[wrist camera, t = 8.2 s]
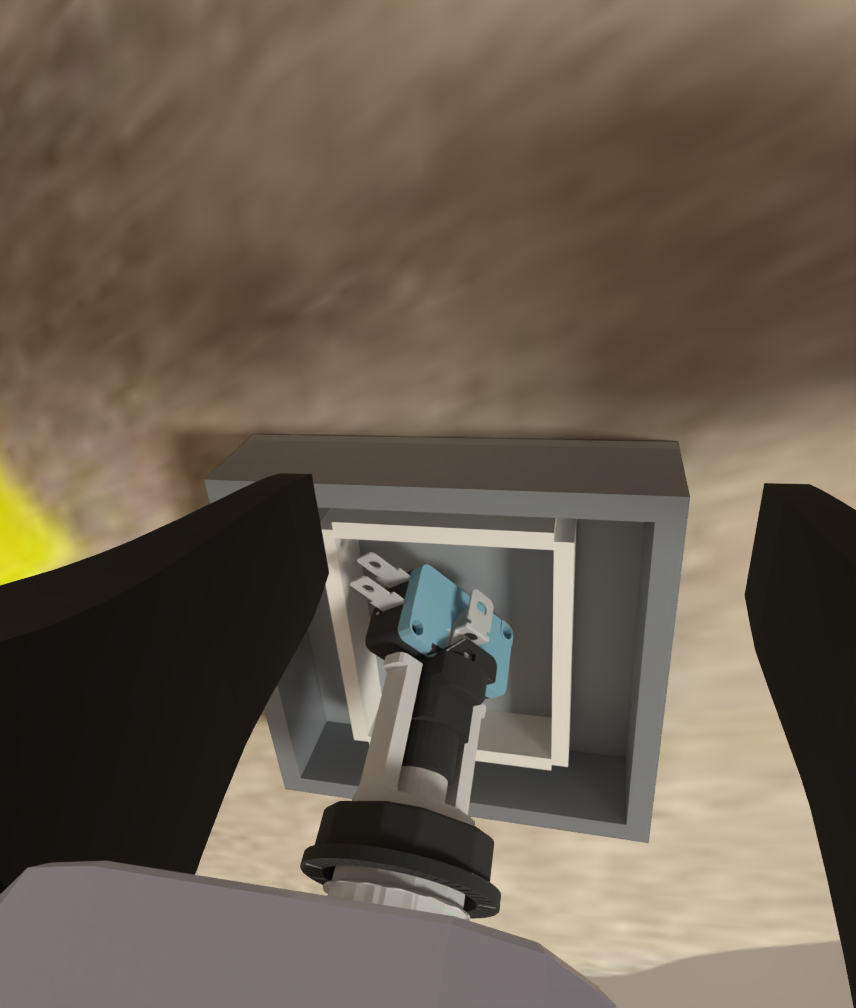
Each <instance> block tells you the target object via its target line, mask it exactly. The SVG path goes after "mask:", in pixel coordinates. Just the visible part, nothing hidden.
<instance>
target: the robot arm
mask: <svg viewBox="0 0 856 1008" xmlns="http://www.w3.org/2000/svg"><path fill="white" fill-rule="evenodd" d="M328 575H329V568H328V563H327V557H326V551H325V546H324V540H323V534H322V529H321V523H320V517H319V512H318V506H317V500H316V495H315V489H314V483H313V478H312V474H291V473H278V474H275V475H272V476H269V477H266V478H264V479H261V480H259V481H257V482H254V483H252V484H250V485H248V486H246V487H243V488H241V489H239V490H237V491H235V492H233V493H231V494H229V495H227V496H225V497H223V498H221V499H219V500H217V501H215V502H213V503H211V504H209V505H207V506H205V507H203V508H201V509H199V510H197V511H195V512H192V513H190V514H188V515H186V516H184V517H182V518H180V519H178V520H176V521H174V522H171V523H169V524H167V525H165V526H163V527H160V528H158V529H156V530H154V531H152V532H149V533H147V534H145V535H143V536H141V537H138V538H136V539H134V540H132V541H129V542H127V543H125V544H122V545H120V546H117V547H115V548H112V549H110V550H107V551H105V552H102V553H100V554H97V555H94V556H92V557H89V558H86V559H83V560H80V561H78V562H75V563H72V564H69V565H67V566H64V567H61V568H58V569H55V570H52V571H48V572H45V573H41V574H38V575H35V576H31V577H28V578H24V579H21V580H17V581H14V582H11V583H7V584H4V585H0V1008H616V1005H615V1004H614V1003H613V1002H612V1000H610V998H608V996H607V995H606V994H605V993H604V992H603V991H602V990H601V989H600V988H599V987H598V986H597V985H596V984H594V983H592V982H591V981H590V980H589V979H587V978H586V977H585V976H583V975H582V974H580V973H579V972H578V971H576V970H575V969H574V968H572V967H571V966H569V965H568V964H567V963H565V962H564V961H563V960H561V959H560V958H558V957H557V956H556V955H554V954H553V953H552V952H550V951H549V950H547V949H546V948H545V947H543V946H542V945H541V944H539V943H538V942H535V941H531V940H528V939H525V938H522V937H519V936H516V935H512V934H509V933H506V932H503V931H500V930H496V929H493V928H490V927H487V926H484V925H481V924H477V923H474V922H471V921H468V920H465V919H462V918H458V917H455V916H449V915H443V914H437V913H430V912H424V911H418V910H411V909H405V908H399V907H393V906H386V905H380V904H374V903H368V902H361V901H355V900H349V899H343V898H336V897H330V896H324V895H318V894H311V893H305V892H299V891H293V890H286V889H280V888H274V887H267V886H261V885H255V884H249V883H242V882H236V881H230V880H224V879H217V878H211V877H205V876H199V875H195V874H196V871H197V868H198V865H199V862H200V859H201V856H202V854H203V851H204V849H205V846H206V843H207V841H208V838H209V835H210V833H211V830H212V827H213V825H214V822H215V819H216V817H217V814H218V812H219V809H220V806H221V804H222V801H223V798H224V796H225V793H226V791H227V789H228V786H229V784H230V781H231V779H232V777H233V774H234V772H235V769H236V767H237V764H238V762H239V760H240V757H241V755H242V752H243V750H244V747H245V745H246V743H247V741H248V739H249V737H250V735H251V733H252V731H253V729H254V727H255V725H256V723H257V721H258V719H259V717H260V715H261V714H262V712H263V710H264V708H265V706H266V704H267V703H268V701H269V699H270V697H271V695H272V694H273V692H274V690H275V688H276V686H277V685H278V683H279V681H280V679H281V677H282V675H283V674H284V672H285V670H286V668H287V666H288V665H289V663H290V661H291V659H292V657H293V656H294V654H295V652H296V650H297V648H298V646H299V644H300V643H301V641H302V639H303V637H304V635H305V633H306V631H307V629H308V628H309V626H310V624H311V622H312V620H313V617H314V615H315V612H316V609H317V607H318V604H319V602H320V599H321V596H322V593H323V590H324V587H325V584H326V581H327V578H328ZM745 600H746V605H747V611H748V616H749V622H750V627H751V632H752V637H753V641H754V646H755V651H756V654H757V657H758V660H759V662H760V665H761V668H762V671H763V674H764V677H765V680H766V682H767V685H768V688H769V691H770V694H771V697H772V699H773V702H774V705H775V708H776V710H777V713H778V716H779V719H780V721H781V724H782V727H783V730H784V732H785V735H786V738H787V741H788V743H789V746H790V749H791V752H792V754H793V757H794V760H795V763H796V765H797V768H798V771H799V774H800V777H801V779H802V783H803V786H804V789H805V792H806V796H807V799H808V802H809V805H810V809H811V813H812V817H813V821H814V825H815V829H816V834H817V838H818V842H819V846H820V850H821V855H822V859H823V863H824V867H825V871H826V876H827V880H828V885H829V889H830V894H831V899H832V903H833V908H834V913H835V917H836V922H837V926H838V931H839V936H840V940H841V945H842V950H843V954H844V959H845V964H846V969H847V975H848V980H849V985H850V990H851V996H852V1000H853V1006H854V1008H856V510H855V509H853V508H851V507H850V506H848V505H846V504H845V503H843V502H842V501H840V500H838V499H836V498H835V497H833V496H831V495H830V494H828V493H826V492H824V491H822V490H820V489H818V488H816V487H814V486H812V485H810V484H772V483H764V488H763V494H762V500H761V505H760V511H759V517H758V522H757V528H756V534H755V539H754V545H753V551H752V556H751V562H750V568H749V573H748V579H747V585H746V590H745Z"/></svg>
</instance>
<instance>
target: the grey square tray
mask: <svg viewBox="0 0 856 1008" xmlns="http://www.w3.org/2000/svg"><path fill="white" fill-rule="evenodd" d="M278 473H291V474H312V478H313V483H314V489H315V495H316V500H317V506H318V512H319V517H320V522H321V521H322V519H323V518H324V516H325V515H326V513H327V512H328V511H329V509H330V508H342V509H365V510H388V511H410V512H433V513H455V514H478V515H501V516H523V517H546V518H568V519H577V529H576V562H575V595H574V628H573V662H572V695H571V727H570V743H569V760H568V767H564V766H556V765H552V767H551V770H543V769H535V768H527V767H520V766H512V765H504V764H497V763H489V762H481V761H475V766H474V773H473V781H472V788H471V795H470V802H469V809H468V816H470V817H477V818H483V819H490V820H497V821H504V822H510V823H517V824H524V825H531V826H537V827H544V828H551V829H557V830H564V831H571V832H578V833H584V834H591V835H598V836H605V837H611V838H618V839H625V840H631V841H638V842H645V843H649V835H650V827H651V818H652V810H653V802H654V793H655V785H656V777H657V768H658V760H659V752H660V743H661V735H662V727H663V718H664V710H665V702H666V693H667V685H668V677H669V668H670V660H671V651H672V643H673V635H674V626H675V618H676V610H677V601H678V593H679V585H680V576H681V568H682V560H683V551H684V543H685V535H686V526H687V518H688V510H689V501H690V495H689V490H688V485H687V481H686V476H685V472H684V467H683V462H682V458H681V453H680V448H679V444H678V442H658V441H602V440H547V439H491V438H435V437H380V436H324V435H268V434H254V435H252V436H251V437H250V438H249V439H248V440H247V441H246V442H245V443H244V444H243V445H241V446H240V447H239V448H238V449H237V450H236V451H235V452H234V453H233V454H231V455H230V456H229V457H228V458H227V459H226V460H225V461H224V462H223V463H222V464H220V465H219V466H218V467H217V468H216V469H215V470H214V471H213V472H212V473H210V474H209V475H208V476H207V477H206V478H205V479H204V483H205V487H206V491H207V494H208V498H209V502H210V504H211V503H213V502H215V501H217V500H219V499H221V498H223V497H225V496H227V495H229V494H231V493H233V492H235V491H237V490H239V489H241V488H243V487H246V486H248V485H250V484H252V483H254V482H257V481H259V480H261V479H264V478H266V477H269V476H272V475H275V474H278ZM358 540H359V547H360V554H361V556H363V555H365V554H367V553H369V552H373V553H375V554H377V555H378V556H379V557H381V558H382V559H383V560H385V561H386V562H387V563H389V564H390V565H391V566H393V567H394V568H396V569H398V568H401V569H402V570H403V571H405V572H408V571H411V570H413V569H416V568H418V567H421V566H423V565H426V564H428V565H430V566H432V567H433V568H434V569H436V570H437V571H438V572H439V573H441V574H442V575H443V576H445V577H446V578H447V579H449V580H450V581H451V582H453V583H454V584H455V585H456V586H458V587H459V588H460V589H462V590H463V591H464V592H466V593H467V594H468V595H470V594H471V591H473V590H475V589H477V590H479V591H480V592H481V593H482V594H484V595H485V596H486V597H488V598H489V599H490V600H491V601H492V604H493V606H494V609H493V614H494V615H496V616H497V617H498V618H500V619H501V620H503V621H505V622H506V623H507V624H508V625H509V626H510V627H511V629H512V631H513V643H512V646H511V654H510V662H509V671H508V679H507V688H506V692H505V694H504V695H502V696H497V697H493V698H489V699H485V700H484V702H483V704H484V705H485V706H486V710H488V711H497V712H506V713H515V714H524V715H533V716H542V717H551V718H552V662H553V577H554V550H542V549H524V548H506V547H487V546H469V545H451V544H433V543H415V542H397V541H378V540H360V539H358ZM369 564H370V565H372V566H374V567H380V566H381V565H380V564H379V563H378V562H375V561H371V562H369ZM362 567H363V574H364V576H367V577H369V578H370V579H371V580H373V581H374V582H376V583H377V584H378V585H380V586H381V587H383V588H384V589H385V588H386V586H385V585H384V584H383V583H381V582H380V581H378V580H377V577H378V576H376V575H375V574H373V573H372V572H371V571H369V570H368V569H366V568H365V567H364V566H362ZM365 587H366V590H369V591H372V590H374V588H373V587H371V586H369V585H365ZM367 600H368V607H369V614H370V620H371V616H372V612H373V610H374V608H375V607H376V606H374V605H373V604H371V603H370V601H371V600H370V599H369V598H367ZM479 603H480V604H481V605H483V604H482V603H481V602H479ZM376 661H377V667H378V674H379V681H380V687H381V694H382V691H383V687H384V683H385V679H386V675H387V671H386V670H385V669H384V668H383V666H384V662H385V661H384V660H383V659H381V658H380V657H378V656H377V655H376ZM264 710H265V714H266V718H267V722H268V725H269V729H270V733H271V737H272V740H273V744H274V748H275V752H276V756H277V759H278V763H279V767H280V771H281V775H282V778H283V782H284V786H285V789H288V790H295V791H302V792H309V793H315V794H322V795H329V796H335V797H342V798H349V799H353V795H354V794H355V793H356V791H357V789H358V787H359V785H360V781H361V778H362V774H363V769H364V765H365V761H366V757H367V753H368V749H369V742H367V741H359V740H354V737H353V731H352V726H351V720H350V715H349V710H348V704H347V699H346V693H345V688H344V682H343V677H342V671H341V666H340V660H339V655H338V650H337V644H336V639H335V633H334V628H333V622H332V617H331V611H330V606H329V600H328V595H327V590H326V584H325V587H324V590H323V593H322V596H321V599H320V602H319V604H318V607H317V609H316V612H315V615H314V617H313V620H312V622H311V624H310V626H309V628H308V629H307V631H306V633H305V635H304V637H303V639H302V641H301V643H300V644H299V646H298V648H297V650H296V652H295V654H294V656H293V657H292V659H291V661H290V663H289V665H288V666H287V668H286V670H285V672H284V674H283V675H282V677H281V679H280V681H279V683H278V685H277V686H276V688H275V690H274V692H273V694H272V695H271V697H270V699H269V701H268V703H267V704H266V706H265V708H264Z"/></svg>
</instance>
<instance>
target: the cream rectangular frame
mask: <svg viewBox="0 0 856 1008" xmlns="http://www.w3.org/2000/svg"><path fill="white" fill-rule="evenodd" d="M320 523H321V529H322V534H323V540H324V546H325V551H326V557H327V563H328V568H329V575H328V578H327V581H326V590H327V595H328V600H329V606H330V611H331V617H332V622H333V628H334V633H335V639H336V644H337V650H338V655H339V660H340V666H341V671H342V677H343V682H344V688H345V693H346V699H347V704H348V710H349V715H350V720H351V726H352V731H353V737H354V740H359V741H367V742H369V745H370V741H371V737H372V732H373V728H374V724H375V720H376V716H377V712H378V708H379V704H380V699H381V695H382V694H381V687H380V681H379V674H378V667H377V661H376V655H375V654H373V653H372V652H370V651H369V650H368V648H367V647H366V644H365V638H366V634H367V631H368V627H369V623H370V614H369V607H368V600H367V597H366V596H365V595H363V594H362V593H360V592H359V591H357V590H356V589H354V588H353V587H351V586H350V581H353V580H355V579H357V578H359V577H362V576H364V574H363V567H362V565H361V564H359V563H358V562H357V558H359V557H361V554H360V547H359V540H358V539H360V540H378V541H397V542H415V543H433V544H451V545H469V546H487V547H506V548H524V549H542V550H554V577H553V662H552V718H551V717H542V716H533V715H524V714H515V713H506V712H497V711H488V710H486V713H485V718H483V719H481V723H480V730H479V738H478V745H477V752H476V759H475V761H481V762H489V763H497V764H504V765H512V766H520V767H527V768H535V769H543V770H551V767H552V765H556V766H564V767H568V760H569V743H570V727H571V695H572V662H573V628H574V595H575V562H576V529H577V519H568V518H546V517H523V516H501V515H478V514H455V513H433V512H410V511H388V510H365V509H342V508H330V509H329V511H328V512H327V513H326V515H325V516H324V518H323V519H322V521H321V522H320ZM362 587H363V588H364V589H366V587H365V585H363V586H362Z"/></svg>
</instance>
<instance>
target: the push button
mask: <svg viewBox="0 0 856 1008" xmlns="http://www.w3.org/2000/svg"><path fill="white" fill-rule="evenodd" d="M371 561H375V562H378V563H379V564H380V565H381V566H380V567H374V566H372V565H370V564H369V562H371ZM357 562H358V563H359V564H361V565H362V566H364V567H365V568H366V569H368V570H369V571H371V572H372V573H373V574H375V575H376V576H378V577H377V580H378V581H380V582H381V583H383V584H384V585H385V586H386V588H385V589H384V588H383V587H381V586H380V585H378V584H377V583H376V582H374V581H373V580H371V579H370V578H369V577H367V576H362V577H359V578H357V579H355V580H353V581H350V586H351V587H353V588H354V589H356V590H357V591H359V592H360V593H362V594H363V595H365V596H366V597H367V598H369V599H370V600H371V601H370V603H371V604H373V605H374V606H376V607H375V608H374V610H373V612H372V616H371V620H370V623H369V627H368V631H367V634H366V638H365V644H366V647H367V648H368V650H369V651H370V652H372V653H373V654H375V655H377V656H378V657H380V658H381V659H383V660H384V661H385V662H384V666H383V668H384V669H385V670H386V671H387V675H386V679H385V683H384V687H383V691H382V695H381V699H380V704H379V708H378V712H377V716H376V720H375V724H374V728H373V732H372V737H371V741H370V745H369V749H368V753H367V757H366V761H365V765H364V769H363V774H362V778H361V781H360V785H359V787H358V789H357V791H356V793H355V794H354V795H353V799H352V801H339V802H337V803H335V804H333V805H331V806H329V807H327V808H326V809H325V810H324V813H323V817H322V820H321V824H320V828H319V831H318V835H317V839H316V843H315V845H314V846H310V847H308V848H307V849H306V850H305V851H304V854H303V858H302V862H301V865H300V868H301V870H302V872H303V873H304V874H306V875H307V876H308V877H310V878H311V879H313V880H314V881H316V882H318V883H320V884H322V885H323V889H324V892H326V893H328V896H330V897H336V898H343V899H349V900H355V901H361V902H368V903H374V904H380V905H386V906H393V907H399V908H405V909H411V910H418V911H424V912H430V913H437V914H443V915H449V916H455V917H458V918H462V919H465V920H468V921H470V918H486V917H491V916H494V915H496V914H498V912H499V910H500V900H501V893H500V891H499V890H498V889H497V888H496V887H495V886H494V885H493V884H491V883H490V876H491V867H492V858H493V849H494V841H493V839H492V838H491V837H489V836H488V835H487V834H485V833H484V832H482V831H481V830H480V829H478V828H477V827H475V821H474V820H473V819H471V818H470V817H469V816H468V809H469V802H470V795H471V788H472V781H473V773H474V766H475V759H476V752H477V745H478V738H479V730H480V723H481V719H483V718H485V713H486V706H485V705H484V704H483V702H484V700H485V699H489V698H493V697H497V696H502V695H504V694H505V692H506V688H507V679H508V671H509V662H510V654H511V646H512V643H513V631H512V629H511V627H510V626H509V625H508V624H507V623H506V622H505V621H503V620H501V619H500V618H498V617H497V616H496V615H494V614H493V609H494V606H493V604H492V601H491V600H490V599H489V598H488V597H486V596H485V595H484V594H482V593H481V592H480V591H479V590H477V589H475V590H473V591H471V594H470V595H468V594H467V593H466V592H464V591H463V590H462V589H460V588H459V587H458V586H456V585H455V584H454V583H453V582H451V581H450V580H449V579H447V578H446V577H445V576H443V575H442V574H441V573H439V572H438V571H437V570H436V569H434V568H433V567H432V566H430V565H428V564H426V565H423V566H421V567H418V568H416V569H413V570H411V571H408V572H405V571H403V570H402V569H401V568H398V569H396V568H394V567H393V566H391V565H390V564H389V563H387V562H386V561H385V560H383V559H382V558H381V557H379V556H378V555H377V554H375V553H373V552H369V553H367V554H365V555H363V556H361V557H359V558H357ZM363 585H369V586H371V587H373V588H374V590H372V591H369V590H366V589H364V588H363V587H362V586H363ZM479 602H481V603H482V604H483V605H481V604H480V603H479Z"/></svg>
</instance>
